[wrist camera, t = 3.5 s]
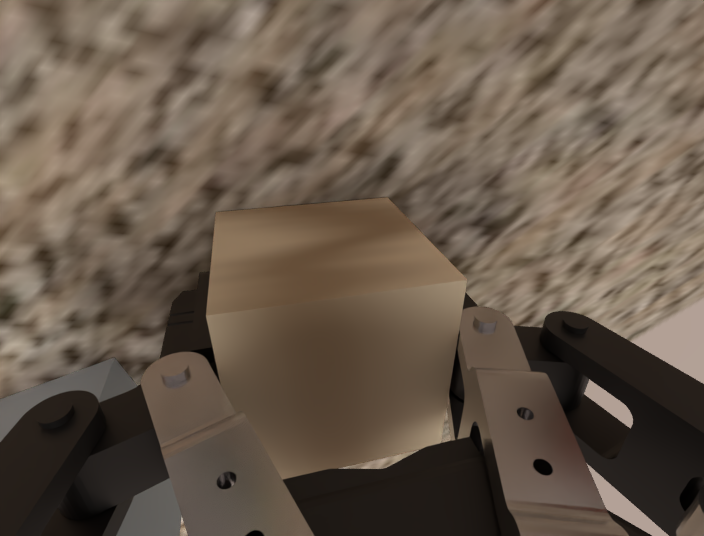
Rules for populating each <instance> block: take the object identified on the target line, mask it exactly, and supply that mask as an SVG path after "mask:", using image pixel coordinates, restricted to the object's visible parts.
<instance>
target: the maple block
mask: <svg viewBox="0 0 704 536" xmlns="http://www.w3.org/2000/svg"><path fill="white" fill-rule="evenodd" d="M466 285H467V279H466V278H465V277H464V276H463V275H462V274H461V273H460V272H459V271H458V270H457V269H456V267H455V266H454V265H453V264H452V263H451V262H450V261H449V260H448V259H447V258H446V257H445V256H444V255H443V254H442V253H441V252H440V251H439V250H438V249H437V248H436V247H435V246H434V245H433V244H432V243H431V242H430V241H429V240H428V239H427V238H426V237H425V235H424V234H423V233H422V232H421V231H420V230H419V229H418V228H417V227H416V226H415V225H414V224H413V223H412V222H411V221H410V220H409V219H408V218H407V217H406V216H405V215H404V214H403V213H402V212H401V211H400V210H399V209H398V208H397V207H396V206H395V205H394V203H393V202H392V201H391V200H390V199H389V198H388V197H386V198H374V199H362V200H351V201H339V202H328V203H316V204H304V205H293V206H281V207H270V208H258V209H246V210H235V211H223V212H216V215H215V226H214V236H213V247H212V257H211V268H210V278H209V289H208V299H207V310H206V318H207V323H208V328H209V333H210V337H211V342H212V347H213V351H214V356H215V361H216V366H217V370H218V375H219V380H220V384H221V386H222V388H223V390H224V392H225V393H226V395H227V397H228V399H229V401H230V403H231V404H232V406H233V408H234V410H235V412H236V413H237V412H239V411H242V412H243V413H244V414H245V416H246V417H247V419H248V420H249V422H250V424H251V426H252V427H253V429H254V431H255V433H256V434H257V436H258V438H259V440H260V441H261V443H262V445H263V447H264V448H265V450H266V452H267V454H268V456H269V457H270V459H271V461H272V463H273V464H274V466H275V468H276V470H277V471H278V473H279V475H280V477H281V478H282V480H283V479H287V478H291V477H296V476H300V475H304V474H309V473H313V472H317V471H322V470H326V469H338V468H342V467H346V466H351V465H355V464H359V463H364V462H368V461H372V460H377V459H381V458H385V457H390V456H394V455H399V454H403V453H407V452H412V451H416V450H420V449H423V448H425V447H427V446H431V445H435V444H440V443H441V439H442V433H443V426H444V420H445V414H446V408H447V402H448V396H449V390H450V383H451V377H452V371H453V365H454V359H455V353H456V347H457V340H458V334H459V328H460V322H461V316H462V310H463V304H464V297H465V291H466Z"/></svg>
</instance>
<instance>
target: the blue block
mask: <svg viewBox="0 0 704 536" xmlns="http://www.w3.org/2000/svg"><path fill="white" fill-rule="evenodd" d="M135 387H137V385H136V384H135V382H134V381H133V380H132V379H131V377H130V376H129V375H128V374H127V372H126V371H125V370H124V369H123V367H122V366H121V365H120V364H119V362H118V361H117V360H116V359H115V357H114V358H111V359H109V360H106V361H103V362H100V363H98V364H95V365H92V366H90V367H87V368H84V369H81V370H79V371H76V372H73V373H70V374H68V375H65V376H62V377H59V378H57V379H54V380H51V381H49V382H46V383H43V384H40V385H38V386H35V387H32V388H29V389H27V390H24V391H21V392H18V393H16V394H13V395H10V396H8V397H5V398H2V399H0V442H1V441H2V440H3V438H4V437H5V436H6V435H7V434H8V433H9V431H10V430H11V429H12V428H13V427H14V426H15V424H16V423H17V422H18V421H19V420H20V419H21V417H22V416H23V415H24V414H25V413H26V412H27V411H29V410H30V409H31V408H32V407H34V406H35V405H37V404H38V403H40V402H42V401H43V400H45V399H47V398H49V397H51V396H54V395H57V394H60V393H63V392H68V391H75V390H82V391H88V392H90V393H93V394H94V395H95V396H96V397H97V399H98V401H99V402H102V401H104V400H107V399H110V398H112V397H115V396H117V395H120V394H123V393H125V392H127V391H130V390H132V389H133V388H135ZM181 516H182V515H181V512H180V508H179V505H178V502H177V499H176V496H175V493H174V490H173V486H172V483H171V480H170V478H169V479H167V480H165V481H163V482H161V483H159V484H157V485H155V486H153V487H151V488H149V489H147V490H145V491H143V492H141V493H139V494H137V495H135V496H134V498H133V500H132V503H131V505H130V507H129V509H128V512H127V514H126V516H125V518H124V520H123V522H122V525H121V527H120V529H119V531H118V533H117V535H116V536H179V535H180V525H181Z"/></svg>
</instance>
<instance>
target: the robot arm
mask: <svg viewBox="0 0 704 536" xmlns="http://www.w3.org/2000/svg"><path fill="white" fill-rule="evenodd" d="M209 278H210V271H208V272H200V274H199V281H198V288H197V290H191V291H183V292H182V293H181V294H180V295H179V296H178V297H177V298H176V299H175V300H174V301H173V302H172V306H171V311H170V317H169V320H168V326H167V329H166V333H165V337H164V342H163V346H162V351H161V355H160V359H159V360H157V361H155V362H154V363H153V364H151V365H150V366H149V367H148V368H147V369H146V370H145V372H144V373H143V375H142V378H141V384H140V385H139V386H137V387H135V388H133V389H132V390H130V391H127V392H125V393H123V394H120V395H117V396H115V397H112V398H110V399H107V400H104V401H102V402H99V401H98V399H97V397H96V396H95V395H94V394H93V393H90V392H88V391H82V390H75V391H68V392H63V393H60V394H57V395H54V396H51V397H49V398H47V399H45V400H43V401H42V402H40V403H38V404H37V405H35V406H34V407H32V408H31V409H30V410H29V411H27V412H26V413H25V414H24V415H23V416H22V417H21V419H20V420H19V421H18V422H17V423H16V424H15V426H14V427H13V428H12V429H11V430H10V431H9V433H8V434H7V435H6V436H5V437H4V438H3V440H2V441H1V442H0V536H116V535H117V533H118V531H119V529H120V527H121V525H122V522H123V520H124V518H125V516H126V514H127V512H128V509H129V507H130V505H131V503H132V500H133V498H134V496H135V495H137V494H139V493H141V492H143V491H145V490H147V489H149V488H151V487H153V486H155V485H157V484H159V483H161V482H163V481H165V480H167V479H169V478H170V480H171V483H172V486H173V490H174V493H175V496H176V499H177V502H178V505H179V508H180V512H181V515H182V518H183V521H184V524H185V527H186V530H187V534H188V536H652V535H650V534H648V533H646V532H645V531H643V530H641V529H639V528H638V527H636V526H634V525H632V524H631V523H629V522H627V521H625V520H624V519H622V518H620V517H619V516H617V515H615V514H613V513H612V512H610V511H608V510H607V509H606V507H605V505H604V503H603V501H602V498H601V496H600V494H599V491H598V489H597V487H596V484H595V482H594V480H593V477H592V475H591V473H590V471H589V468H588V466H587V464H588V465H590V466H591V467H592V468H593V469H594V470H595V471H596V472H597V473H599V474H600V475H601V476H602V477H603V478H604V479H605V480H606V481H608V482H609V483H610V484H611V485H612V486H613V487H615V488H616V489H617V490H618V491H619V492H620V493H621V494H622V495H623V496H625V497H626V498H627V499H628V500H629V501H631V503H633V504H634V505H635V506H636V507H637V508H638V509H640V510H641V511H642V512H643V513H644V514H645V515H646V516H648V517H649V518H650V519H651V520H652V521H653V522H654V523H655V524H656V525H658V526H659V527H660V528H661V529H662V530H663V531H664V532H666V533H667V534H668V535H669V536H704V384H703V383H701V382H699V381H697V380H696V379H694V378H692V377H691V376H689V375H687V374H685V373H684V372H682V371H680V370H678V369H677V368H675V367H673V366H671V365H670V364H668V363H666V362H665V361H663V360H661V359H659V358H658V357H656V356H654V355H652V354H651V353H649V352H647V351H645V350H644V349H642V348H640V347H639V346H637V345H635V344H633V343H632V342H630V341H628V340H626V339H625V338H623V337H621V336H620V335H618V334H616V333H614V332H613V331H611V330H609V329H607V328H606V327H604V326H602V325H601V324H599V323H597V322H595V321H594V320H592V319H590V318H588V317H586V316H583V315H580V314H577V313H573V312H566V311H558V312H553V313H550V314H548V315H547V316H546V318H545V320H544V324H543V327H542V328H540V327H523V326H514V325H513V323H512V321H511V320H510V319H509V318H508V317H507V316H506V315H505V314H503V313H501V312H499V311H497V310H495V309H492V308H487V307H478V306H477V304H476V303H475V302H474V301H473V300H472V299H471V298H470V297H469V296H468V295H467V293H466V292H465V297H464V304H463V310H462V316H461V322H460V328H459V334H458V340H457V347H456V353H455V359H454V365H453V371H452V377H451V383H450V390H449V396H448V402H447V413H448V421H449V430H450V438H451V441H448V442H444V443H440V444H435V445H431V446H427V447H425V448H423V449H421V450H419V451H417V452H415V453H414V454H412V455H410V456H408V457H406V458H404V459H402V460H400V461H399V462H397V463H395V464H393V465H391V466H389V467H387V468H384V469H326V470H322V471H317V472H313V473H309V474H304V475H300V476H296V477H291V478H287V479H283V480H282V478H281V477H280V475H279V473H278V471H277V470H276V468H275V466H274V464H273V463H272V461H271V459H270V457H269V456H268V454H267V452H266V450H265V448H264V447H263V445H262V443H261V441H260V440H259V438H258V436H257V434H256V433H255V431H254V429H253V427H252V426H251V424H250V422H249V420H248V419H247V417H246V416H245V414H244V413H243V412H242V411H239V412H237V413H236V412H235V410H234V408H233V406H232V404H231V403H230V401H229V399H228V397H227V395H226V393H225V392H224V390H223V388H222V386H221V384H220V380H219V375H218V370H217V366H216V361H215V356H214V351H213V347H212V342H211V337H210V333H209V328H208V323H207V318H206V310H207V299H208V289H209ZM589 379H590V380H591V381H593V382H594V383H596V384H597V385H598V386H600V387H601V388H603V389H604V390H606V391H607V392H608V393H610V394H611V395H613V396H614V397H616V398H617V399H618V400H620V401H621V402H622V403H624V404H625V405H626V406H627V407H628V409H629V410H630V412H631V414H632V416H633V425H632V427H631V429H630V428H629V427H627V426H626V425H625V424H623V423H622V422H620V421H619V420H618V419H617V418H615V417H614V416H612V415H611V414H610V413H609V412H607V411H606V410H604V409H603V408H602V407H600V406H599V405H598V404H596V403H595V402H594V401H592V400H591V399H589V398H588V397H587V396H586V395H584V392H585V389H586V387H587V384H588V381H589ZM586 463H587V464H586Z"/></svg>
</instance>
